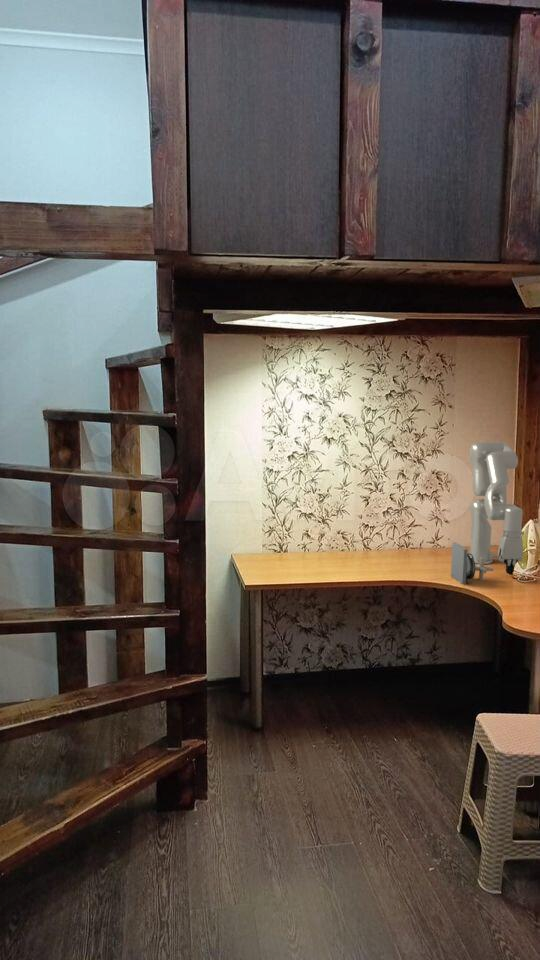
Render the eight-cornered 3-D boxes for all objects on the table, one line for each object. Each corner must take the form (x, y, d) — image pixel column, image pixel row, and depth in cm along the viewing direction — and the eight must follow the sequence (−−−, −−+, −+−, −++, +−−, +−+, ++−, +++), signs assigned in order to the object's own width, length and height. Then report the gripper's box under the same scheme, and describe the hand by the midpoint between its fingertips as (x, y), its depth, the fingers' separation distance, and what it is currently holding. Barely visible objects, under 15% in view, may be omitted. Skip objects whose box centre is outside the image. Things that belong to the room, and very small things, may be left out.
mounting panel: (462, 575, 304) (464, 542, 301) (474, 584, 291) (476, 549, 289) (450, 576, 303) (452, 542, 301) (462, 584, 290) (464, 549, 288)
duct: (463, 574, 303) (465, 550, 301) (474, 582, 292) (476, 556, 290) (454, 575, 302) (455, 550, 301) (465, 582, 291) (466, 557, 289)
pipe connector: (467, 576, 303) (468, 555, 302) (489, 577, 303) (490, 556, 302) (472, 581, 293) (474, 559, 292) (495, 582, 293) (496, 560, 292)
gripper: (523, 532, 301) (521, 571, 304) (492, 532, 300) (490, 571, 302) (531, 536, 294) (529, 575, 296) (500, 536, 292) (497, 576, 295)
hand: (509, 573), depth 299 cm, fingers closed
